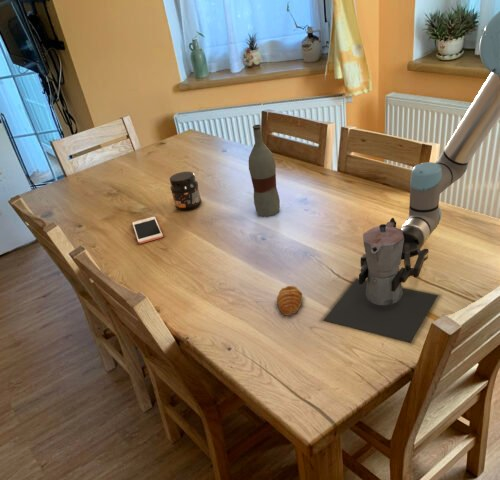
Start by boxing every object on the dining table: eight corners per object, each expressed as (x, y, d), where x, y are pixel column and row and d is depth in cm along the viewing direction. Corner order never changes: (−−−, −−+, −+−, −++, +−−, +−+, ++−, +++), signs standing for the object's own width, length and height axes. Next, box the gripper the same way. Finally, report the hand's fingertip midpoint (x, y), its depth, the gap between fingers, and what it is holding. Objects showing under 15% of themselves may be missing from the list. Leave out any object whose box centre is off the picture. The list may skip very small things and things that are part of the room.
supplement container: (170, 208, 194) (162, 178, 186) (191, 198, 199) (184, 168, 191) (186, 214, 187) (178, 183, 180) (207, 203, 192) (201, 173, 185)
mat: (437, 295, 125) (437, 295, 125) (410, 342, 113) (410, 342, 113) (356, 279, 136) (356, 278, 136) (323, 320, 124) (323, 319, 124)
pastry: (303, 315, 127) (301, 303, 124) (276, 318, 128) (274, 306, 125) (302, 295, 134) (301, 283, 132) (277, 297, 135) (276, 285, 133)
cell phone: (155, 218, 188) (154, 216, 188) (163, 237, 174) (162, 235, 174) (132, 224, 187) (131, 222, 186) (138, 244, 173) (138, 241, 172)
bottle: (284, 213, 175) (274, 126, 157) (259, 220, 174) (246, 132, 156) (276, 204, 182) (266, 119, 164) (252, 210, 181) (239, 125, 163)
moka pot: (355, 309, 121) (354, 236, 109) (372, 276, 132) (373, 205, 119) (395, 315, 117) (398, 240, 105) (409, 280, 128) (413, 208, 115)
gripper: (448, 257, 128) (418, 305, 115) (373, 245, 139) (337, 287, 125) (451, 231, 124) (420, 277, 110) (373, 220, 134) (336, 262, 120)
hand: (376, 283), depth 118 cm, fingers closed on moka pot, 7 cm apart
